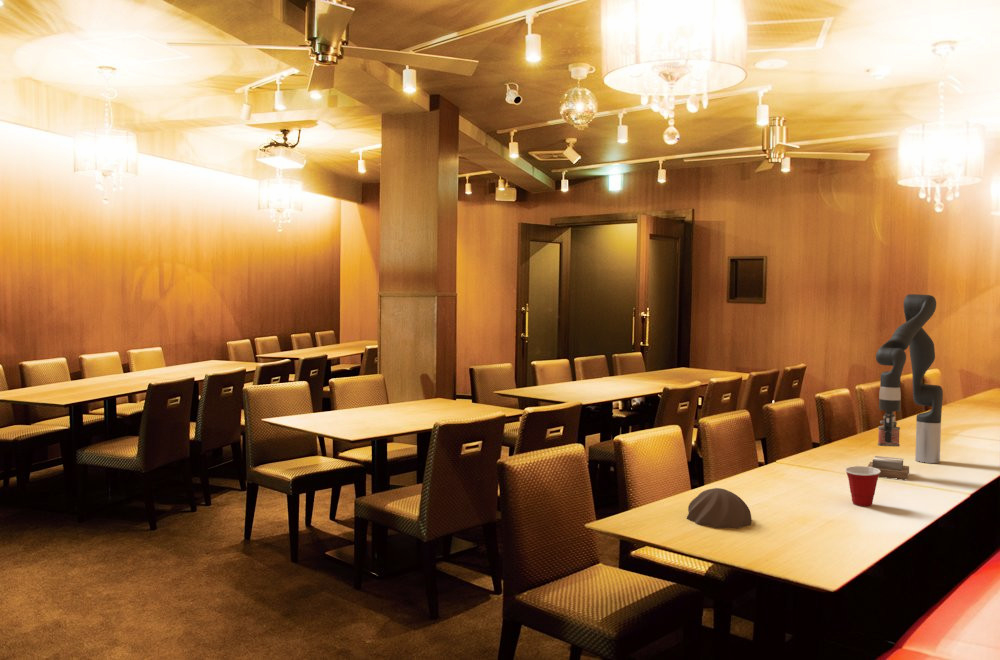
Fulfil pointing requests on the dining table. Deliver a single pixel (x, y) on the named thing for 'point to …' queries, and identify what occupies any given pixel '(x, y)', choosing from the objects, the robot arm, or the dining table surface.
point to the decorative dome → (719, 509)
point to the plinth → (893, 472)
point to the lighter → (894, 438)
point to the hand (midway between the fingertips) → (888, 441)
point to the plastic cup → (862, 484)
